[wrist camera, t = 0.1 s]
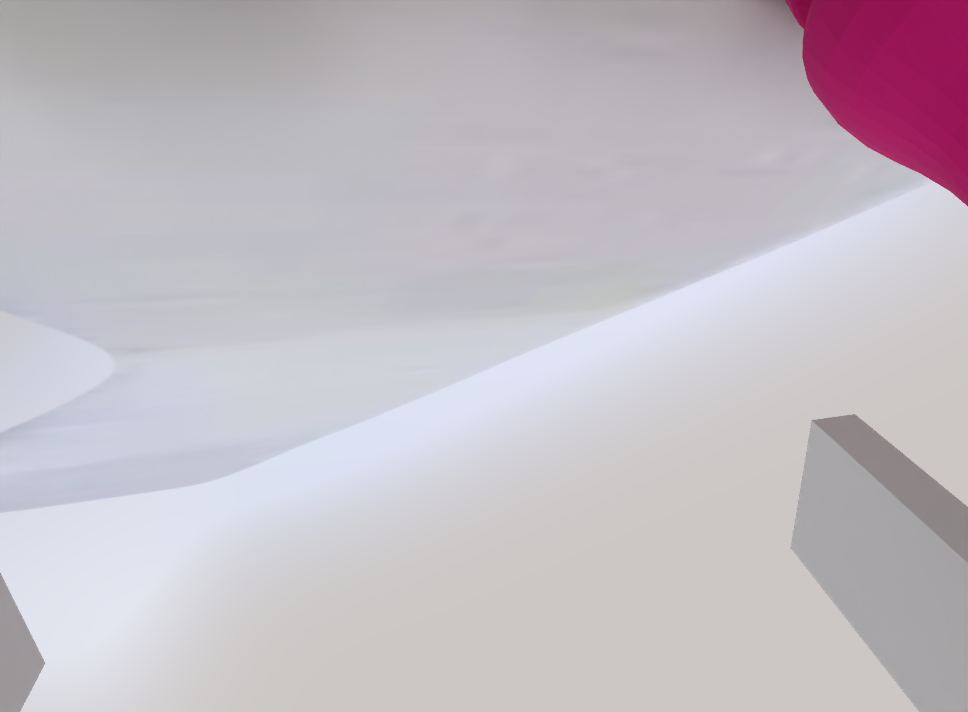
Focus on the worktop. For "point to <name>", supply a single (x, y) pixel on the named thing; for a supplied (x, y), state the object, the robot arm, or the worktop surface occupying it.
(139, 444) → the worktop surface
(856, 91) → the pepper mill
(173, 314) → the worktop surface
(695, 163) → the worktop surface
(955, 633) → the robot arm
